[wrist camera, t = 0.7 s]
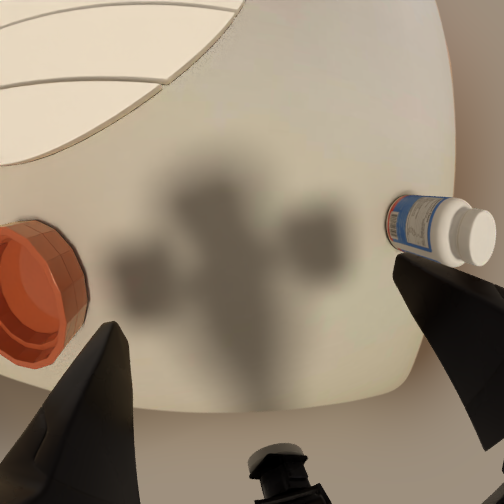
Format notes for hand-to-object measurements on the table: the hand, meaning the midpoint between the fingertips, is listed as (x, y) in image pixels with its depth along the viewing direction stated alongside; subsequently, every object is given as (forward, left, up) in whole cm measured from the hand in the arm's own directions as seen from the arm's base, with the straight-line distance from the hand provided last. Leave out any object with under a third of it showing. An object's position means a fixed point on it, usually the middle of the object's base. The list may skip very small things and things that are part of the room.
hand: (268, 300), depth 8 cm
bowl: (-10, +14, -14) cm, 22 cm away
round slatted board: (+17, +27, -14) cm, 35 cm away
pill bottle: (+8, -15, -14) cm, 22 cm away
